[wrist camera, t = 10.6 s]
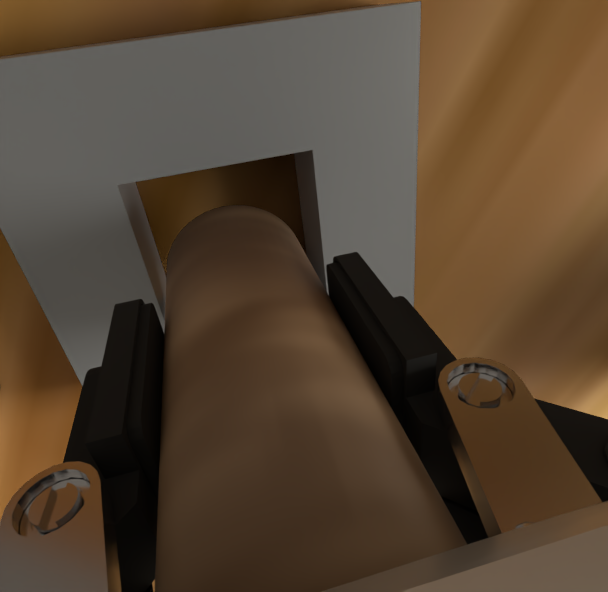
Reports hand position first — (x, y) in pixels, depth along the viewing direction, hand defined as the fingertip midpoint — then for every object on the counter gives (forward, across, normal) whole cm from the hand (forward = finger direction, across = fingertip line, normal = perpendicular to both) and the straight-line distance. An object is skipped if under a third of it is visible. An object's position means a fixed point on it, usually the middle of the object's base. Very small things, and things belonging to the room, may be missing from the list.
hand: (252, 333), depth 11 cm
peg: (+3, 0, 0) cm, 3 cm away
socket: (+7, 0, 0) cm, 7 cm away
